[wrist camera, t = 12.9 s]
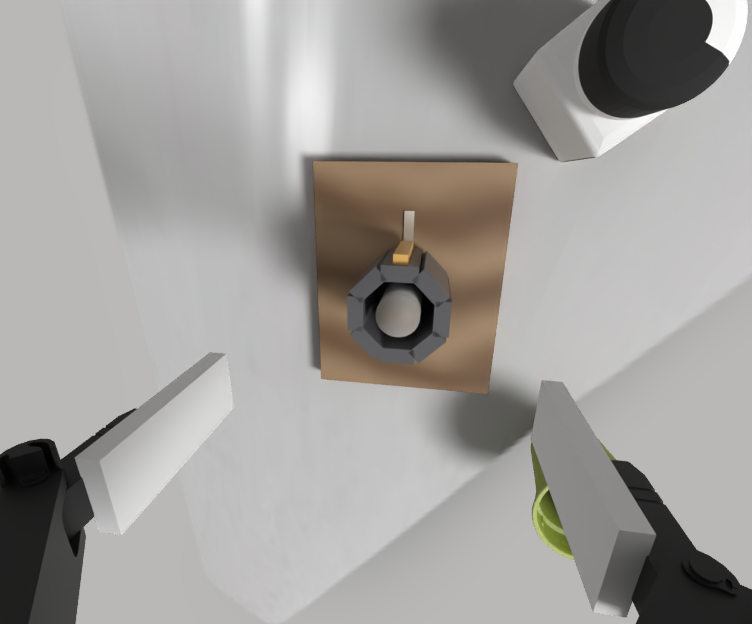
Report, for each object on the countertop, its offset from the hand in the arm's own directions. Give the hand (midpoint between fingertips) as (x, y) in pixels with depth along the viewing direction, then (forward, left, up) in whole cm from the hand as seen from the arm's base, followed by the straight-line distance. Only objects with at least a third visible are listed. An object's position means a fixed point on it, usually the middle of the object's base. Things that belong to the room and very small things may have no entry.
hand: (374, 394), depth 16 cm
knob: (0, 0, -17) cm, 17 cm away
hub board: (0, 0, -20) cm, 20 cm away
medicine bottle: (-15, +12, -20) cm, 28 cm away
